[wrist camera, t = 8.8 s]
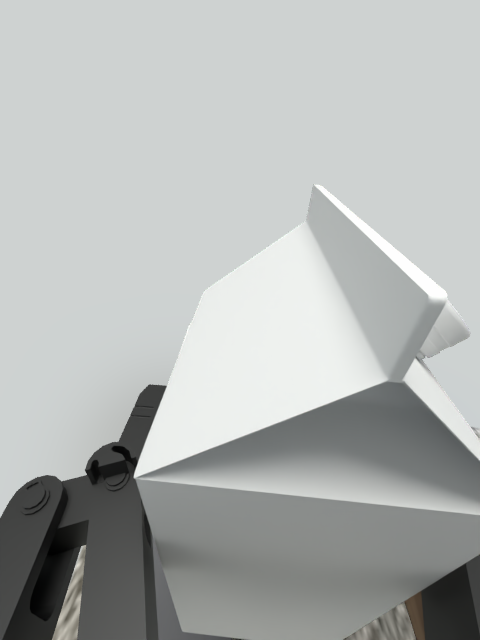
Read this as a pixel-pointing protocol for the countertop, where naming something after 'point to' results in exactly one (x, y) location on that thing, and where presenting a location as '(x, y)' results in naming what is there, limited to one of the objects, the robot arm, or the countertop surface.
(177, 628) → the rubber mat
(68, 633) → the countertop surface
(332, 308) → the milk carton
